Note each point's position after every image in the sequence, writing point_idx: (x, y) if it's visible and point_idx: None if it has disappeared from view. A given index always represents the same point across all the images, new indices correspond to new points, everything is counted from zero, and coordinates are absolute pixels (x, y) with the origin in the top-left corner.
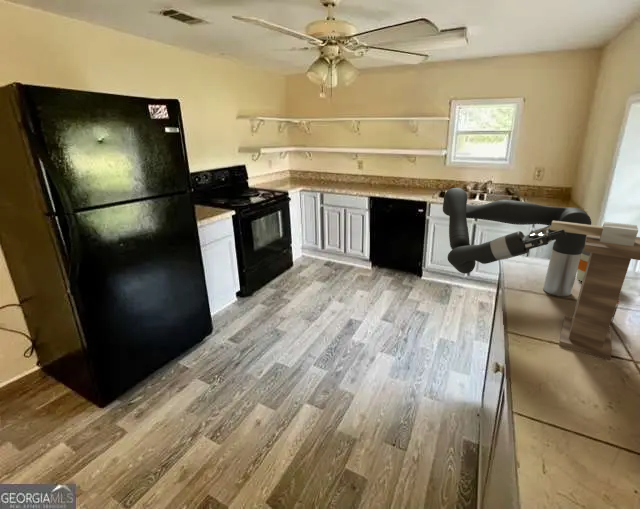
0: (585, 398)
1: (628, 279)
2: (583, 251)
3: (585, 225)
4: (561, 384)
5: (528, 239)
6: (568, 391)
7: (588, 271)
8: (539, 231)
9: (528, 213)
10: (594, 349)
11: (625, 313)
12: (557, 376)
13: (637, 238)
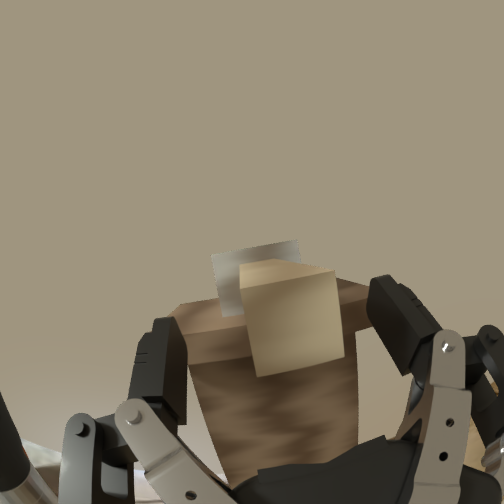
0: (470, 434)
1: (24, 444)
2: None
3: (266, 263)
4: (478, 453)
5: (493, 487)
6: (480, 443)
7: (357, 390)
8: (240, 502)
9: None
10: None
11: (141, 478)
12: (469, 466)
13: (198, 302)
